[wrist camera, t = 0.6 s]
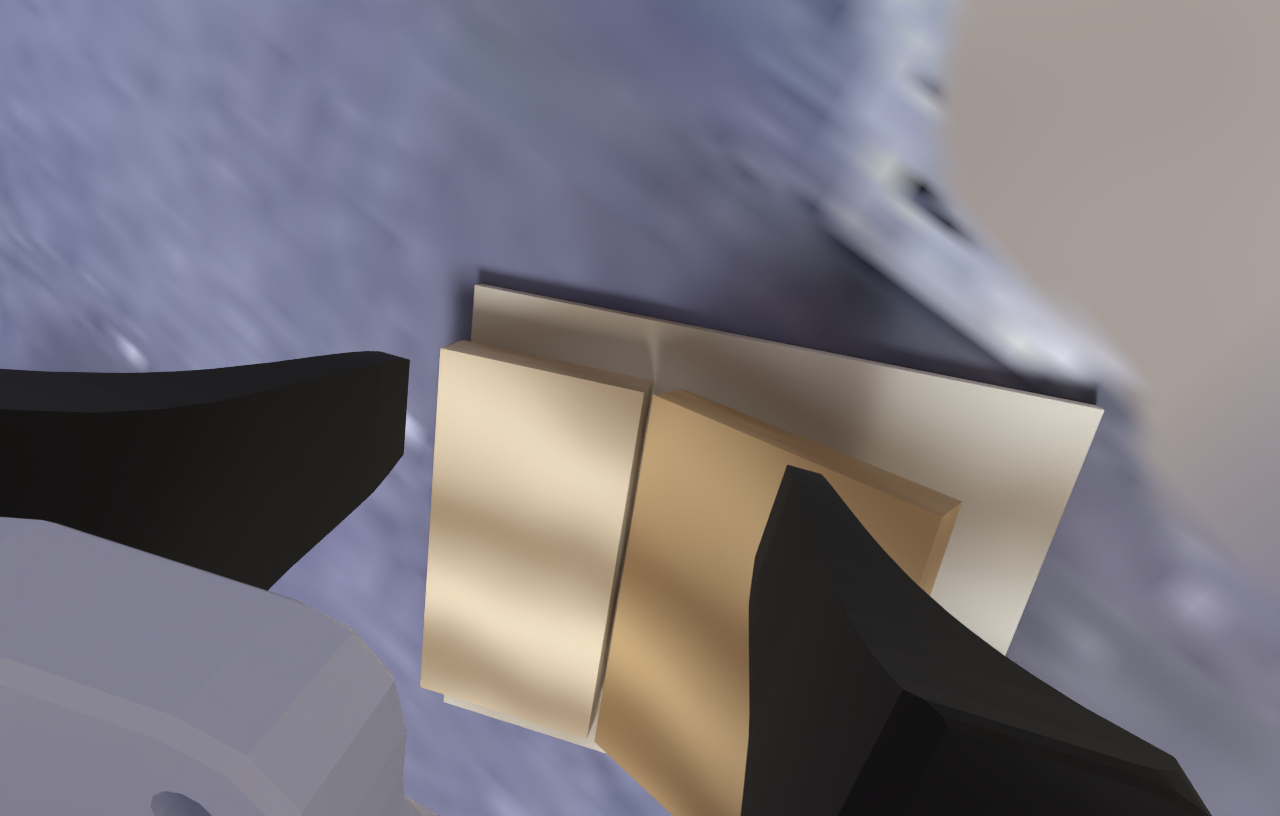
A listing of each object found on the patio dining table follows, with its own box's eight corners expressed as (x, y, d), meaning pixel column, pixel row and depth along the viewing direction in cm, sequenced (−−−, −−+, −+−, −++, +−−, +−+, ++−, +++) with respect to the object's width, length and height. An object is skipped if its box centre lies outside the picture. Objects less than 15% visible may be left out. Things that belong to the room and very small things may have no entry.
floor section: (922, 842, 25) (933, 894, 23) (443, 691, 29) (418, 726, 27) (1097, 405, 20) (1129, 426, 18) (473, 282, 23) (444, 288, 21)
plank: (824, 900, 20) (800, 935, 19) (621, 722, 26) (594, 741, 25) (962, 501, 16) (942, 517, 15) (683, 389, 22) (653, 394, 20)
